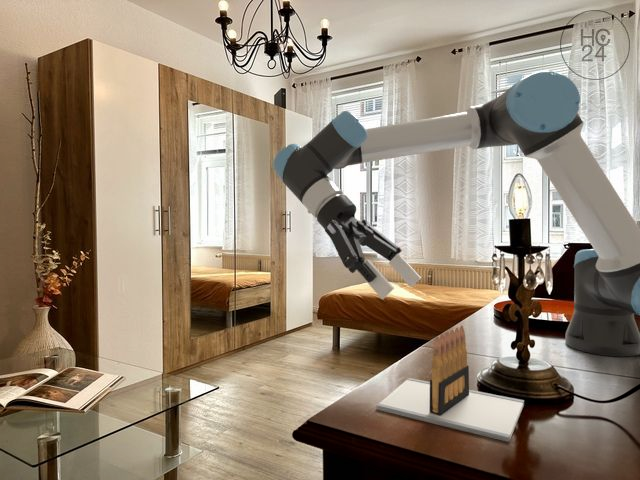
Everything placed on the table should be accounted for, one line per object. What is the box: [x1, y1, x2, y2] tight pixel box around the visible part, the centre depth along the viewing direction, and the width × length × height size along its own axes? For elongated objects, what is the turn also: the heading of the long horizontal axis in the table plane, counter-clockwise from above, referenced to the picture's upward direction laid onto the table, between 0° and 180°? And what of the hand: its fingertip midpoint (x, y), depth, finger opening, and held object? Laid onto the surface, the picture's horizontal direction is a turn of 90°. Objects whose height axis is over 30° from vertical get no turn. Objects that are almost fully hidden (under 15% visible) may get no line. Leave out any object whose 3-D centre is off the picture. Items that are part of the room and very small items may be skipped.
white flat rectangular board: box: [375, 377, 525, 443], centre depth 70 cm, size 20×14×1 cm
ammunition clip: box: [429, 325, 470, 416], centre depth 70 cm, size 11×2×12 cm, turn 137°
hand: (403, 288), depth 78 cm, fingers open, 13 cm apart
